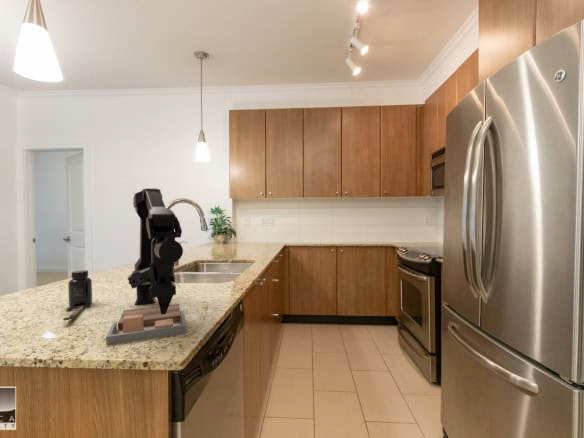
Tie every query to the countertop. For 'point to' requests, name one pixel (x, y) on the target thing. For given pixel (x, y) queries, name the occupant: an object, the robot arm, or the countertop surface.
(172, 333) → the tray
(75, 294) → the supplement bottle
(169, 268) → the robot arm
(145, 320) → the walnut board
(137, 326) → the tile
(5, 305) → the countertop surface
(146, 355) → the countertop surface
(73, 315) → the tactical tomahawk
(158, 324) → the block
